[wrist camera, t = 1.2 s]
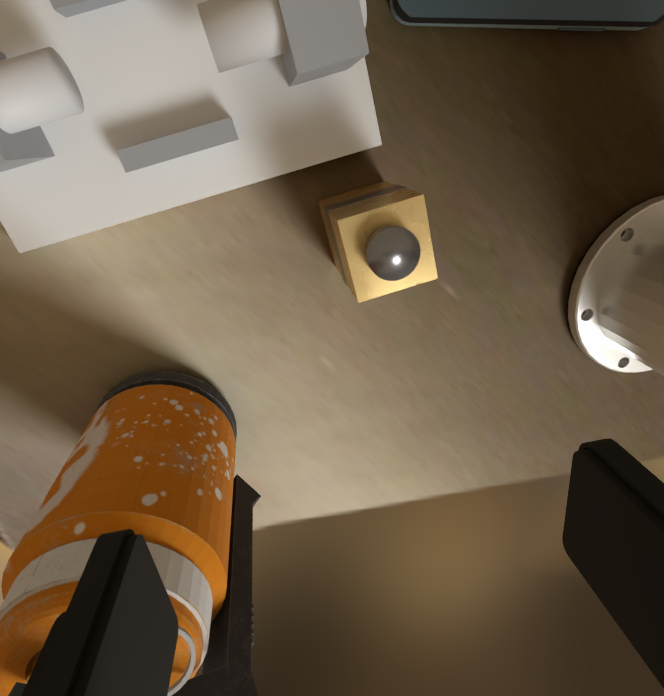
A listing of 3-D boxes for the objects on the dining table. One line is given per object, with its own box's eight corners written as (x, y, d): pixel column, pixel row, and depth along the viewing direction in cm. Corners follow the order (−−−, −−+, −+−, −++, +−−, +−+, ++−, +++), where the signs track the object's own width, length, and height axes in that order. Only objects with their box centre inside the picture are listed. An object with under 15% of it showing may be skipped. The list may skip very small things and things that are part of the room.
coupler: (384, 180, 26) (430, 195, 19) (397, 247, 28) (444, 283, 21) (317, 200, 26) (339, 223, 19) (334, 266, 28) (361, 309, 21)
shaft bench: (318, -142, 20) (342, -248, 15) (376, 144, 26) (410, 145, 20) (-122, -17, 20) (-270, -77, 14) (29, 248, 25) (-36, 280, 19)
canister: (134, 342, 28) (-80, 702, 10) (287, 414, 32) (328, 769, 14) (75, 448, 31) (-180, 890, 13) (224, 503, 34) (191, 903, 16)
